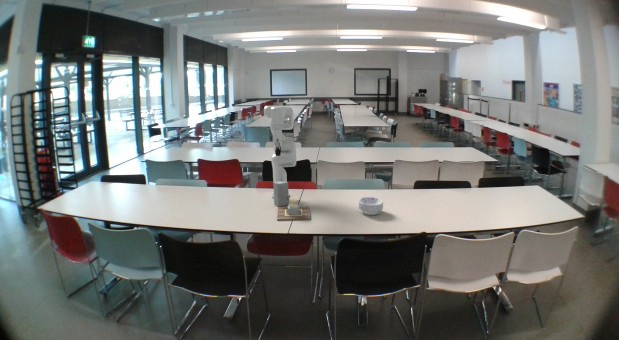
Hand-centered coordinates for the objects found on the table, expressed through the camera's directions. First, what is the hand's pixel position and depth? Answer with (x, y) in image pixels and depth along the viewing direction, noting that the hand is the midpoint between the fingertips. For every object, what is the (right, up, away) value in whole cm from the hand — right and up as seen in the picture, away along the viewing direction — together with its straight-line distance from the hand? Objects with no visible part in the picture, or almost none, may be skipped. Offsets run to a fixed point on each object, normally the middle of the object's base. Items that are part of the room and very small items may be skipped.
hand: (278, 154), depth 221 cm
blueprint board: (+10, -38, -1) cm, 39 cm away
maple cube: (+10, -33, -2) cm, 34 cm away
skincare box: (+1, -34, +16) cm, 37 cm away
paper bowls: (+58, -37, +1) cm, 69 cm away
